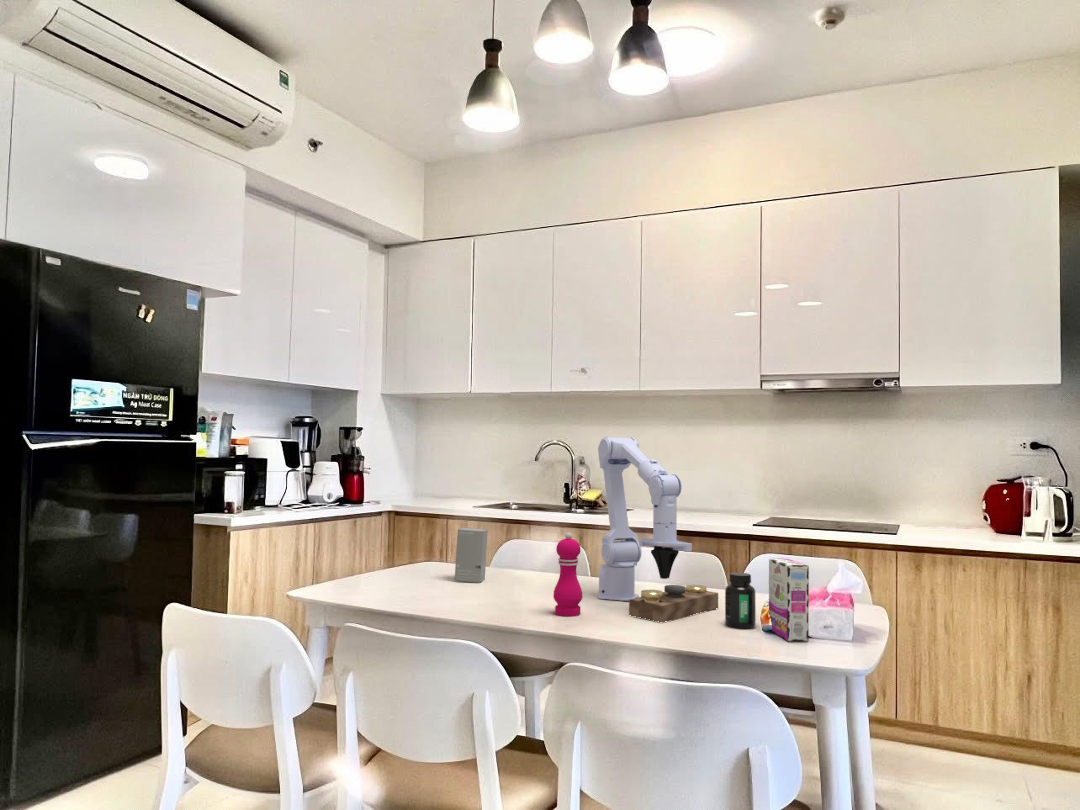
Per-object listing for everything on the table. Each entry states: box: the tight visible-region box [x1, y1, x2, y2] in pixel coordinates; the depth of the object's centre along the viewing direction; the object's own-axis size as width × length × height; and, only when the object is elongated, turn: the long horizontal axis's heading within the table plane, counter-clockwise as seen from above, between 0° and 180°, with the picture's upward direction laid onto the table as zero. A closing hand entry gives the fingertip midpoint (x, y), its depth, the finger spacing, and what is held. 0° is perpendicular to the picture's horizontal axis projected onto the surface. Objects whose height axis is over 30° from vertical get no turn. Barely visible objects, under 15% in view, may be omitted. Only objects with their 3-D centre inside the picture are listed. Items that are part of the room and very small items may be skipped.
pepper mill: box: [553, 532, 584, 617], centre depth 187 cm, size 7×7×20 cm
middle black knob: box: [663, 584, 686, 598], centre depth 190 cm, size 5×5×5 cm
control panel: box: [628, 586, 719, 623], centre depth 189 cm, size 24×10×4 cm, turn 134°
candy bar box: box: [768, 558, 810, 643], centre depth 167 cm, size 11×5×16 cm, turn 5°
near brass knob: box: [640, 589, 664, 604], centre depth 183 cm, size 5×5×5 cm
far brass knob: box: [685, 584, 708, 594], centre depth 196 cm, size 5×5×5 cm
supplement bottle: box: [724, 572, 757, 630], centre depth 176 cm, size 7×7×12 cm
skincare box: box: [454, 527, 489, 584], centre depth 230 cm, size 8×7×16 cm
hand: (664, 578), depth 187 cm, fingers closed
